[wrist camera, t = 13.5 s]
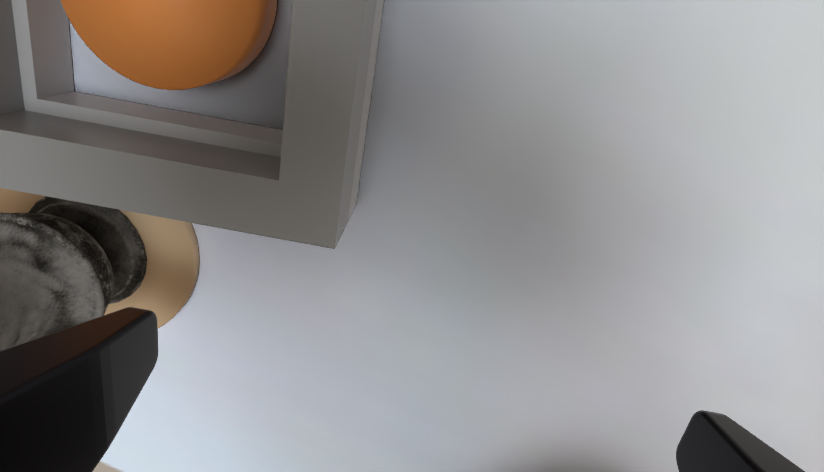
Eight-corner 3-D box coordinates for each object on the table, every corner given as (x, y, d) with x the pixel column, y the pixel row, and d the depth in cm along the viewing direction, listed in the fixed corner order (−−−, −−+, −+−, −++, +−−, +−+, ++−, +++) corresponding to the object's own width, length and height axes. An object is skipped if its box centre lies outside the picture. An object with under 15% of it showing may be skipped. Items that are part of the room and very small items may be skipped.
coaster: (198, 346, 25) (192, 353, 24) (10, 312, 24) (0, 318, 24) (200, 163, 21) (193, 167, 20) (-20, 123, 21) (-32, 126, 20)
